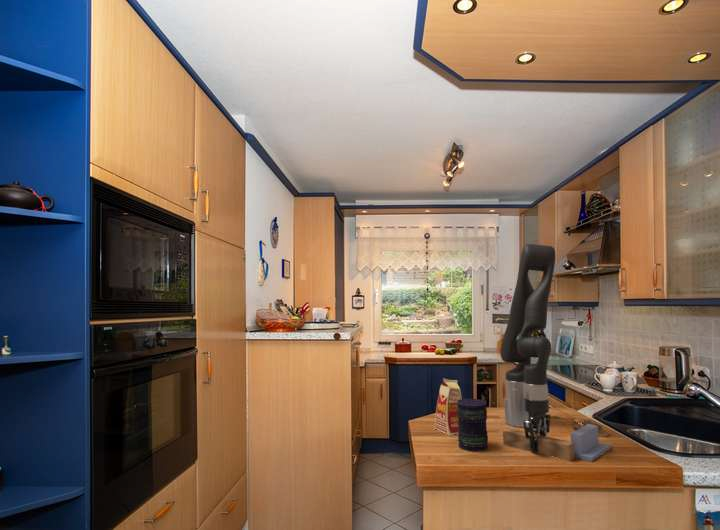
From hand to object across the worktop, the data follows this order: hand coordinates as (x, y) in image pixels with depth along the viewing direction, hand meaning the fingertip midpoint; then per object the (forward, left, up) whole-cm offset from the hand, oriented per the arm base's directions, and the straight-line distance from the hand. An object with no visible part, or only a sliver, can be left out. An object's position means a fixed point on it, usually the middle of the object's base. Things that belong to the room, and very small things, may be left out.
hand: (538, 449), depth 146 cm
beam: (0, -1, -1) cm, 1 cm away
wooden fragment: (+1, +37, -1) cm, 37 cm away
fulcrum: (+11, +10, 0) cm, 15 cm away
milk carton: (-33, -3, -1) cm, 33 cm away
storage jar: (-17, -12, -1) cm, 21 cm away
